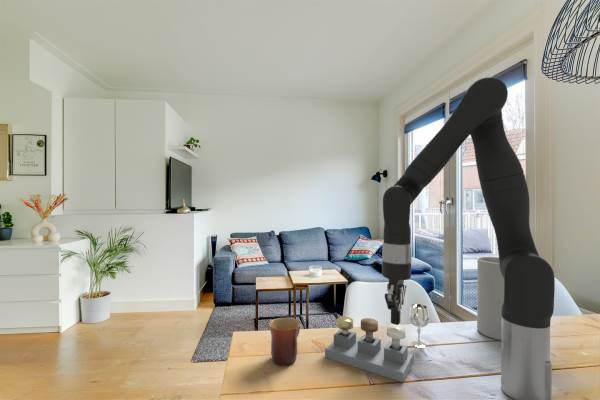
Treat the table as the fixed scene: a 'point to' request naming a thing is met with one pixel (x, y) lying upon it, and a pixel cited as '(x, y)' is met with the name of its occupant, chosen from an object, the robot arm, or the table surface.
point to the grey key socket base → (371, 355)
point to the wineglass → (419, 321)
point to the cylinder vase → (489, 297)
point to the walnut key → (369, 328)
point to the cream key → (396, 335)
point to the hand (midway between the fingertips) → (395, 323)
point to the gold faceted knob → (345, 324)
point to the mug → (284, 340)
